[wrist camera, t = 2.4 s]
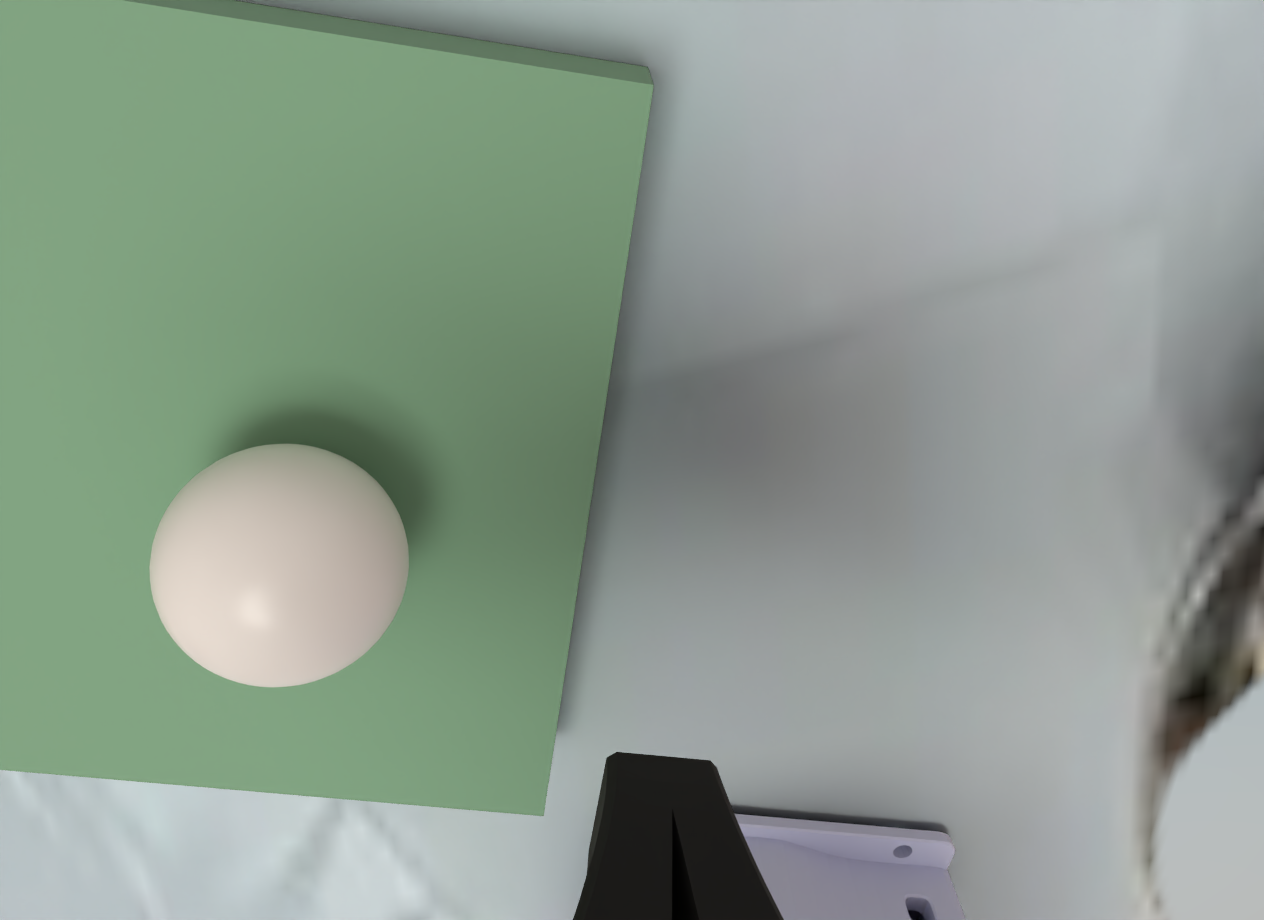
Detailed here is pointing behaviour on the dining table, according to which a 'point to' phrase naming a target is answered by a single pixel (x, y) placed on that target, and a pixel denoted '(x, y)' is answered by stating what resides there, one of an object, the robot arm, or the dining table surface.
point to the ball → (279, 565)
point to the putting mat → (302, 374)
